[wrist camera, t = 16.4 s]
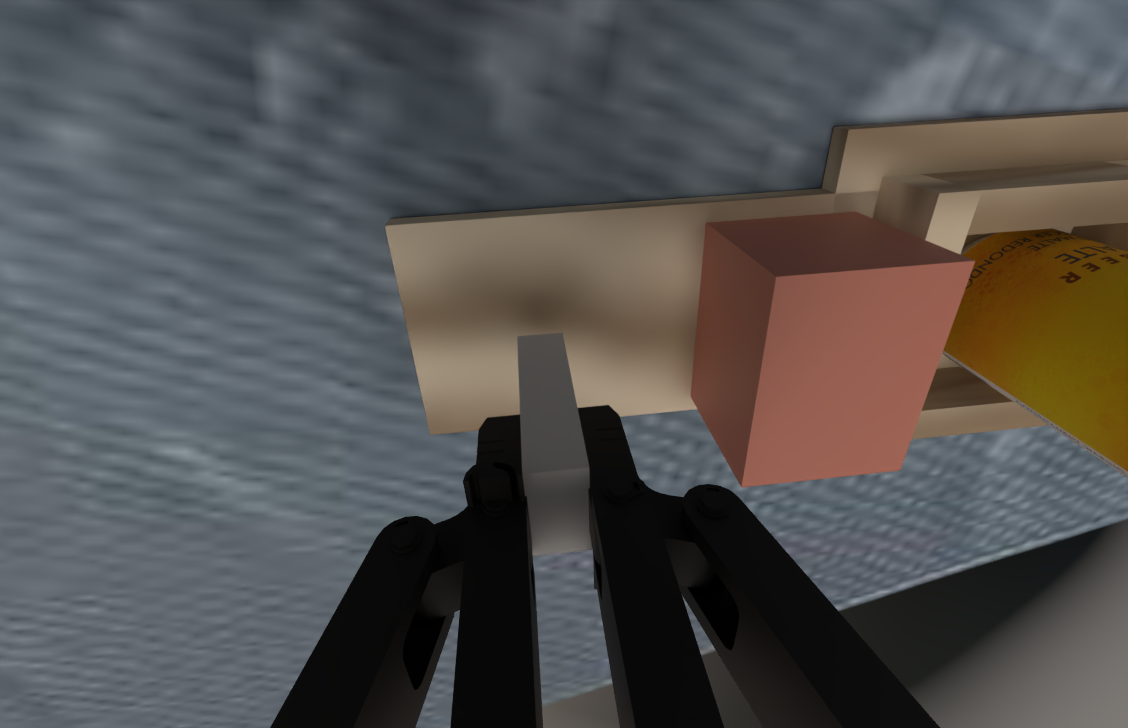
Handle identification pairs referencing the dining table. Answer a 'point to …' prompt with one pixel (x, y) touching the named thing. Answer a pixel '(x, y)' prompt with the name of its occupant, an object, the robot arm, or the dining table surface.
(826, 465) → the salmon pink block
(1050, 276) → the beer can
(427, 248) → the dock
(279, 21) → the dining table surface
